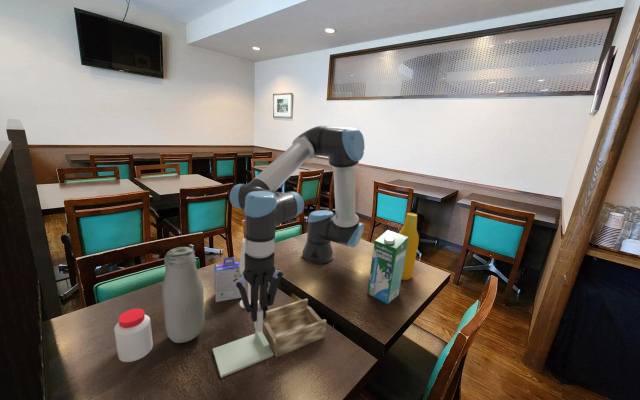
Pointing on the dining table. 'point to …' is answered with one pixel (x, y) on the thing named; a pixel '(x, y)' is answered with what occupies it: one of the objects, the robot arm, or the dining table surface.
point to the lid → (242, 353)
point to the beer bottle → (410, 244)
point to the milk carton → (387, 266)
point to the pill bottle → (133, 335)
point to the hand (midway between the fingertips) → (258, 328)
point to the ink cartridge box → (227, 280)
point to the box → (292, 327)
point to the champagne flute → (242, 267)
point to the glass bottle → (182, 295)
